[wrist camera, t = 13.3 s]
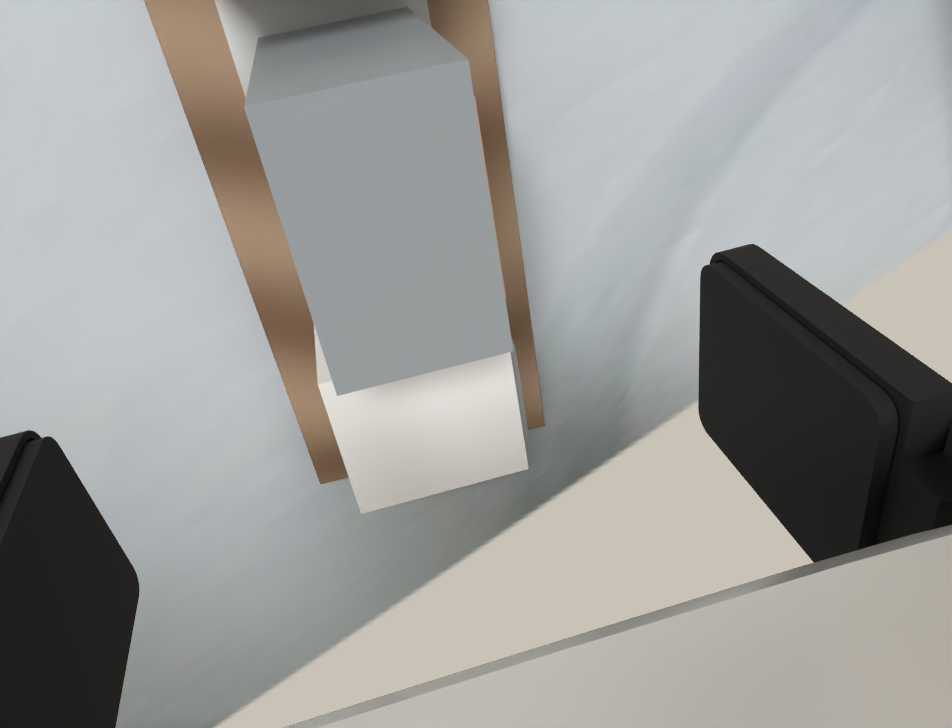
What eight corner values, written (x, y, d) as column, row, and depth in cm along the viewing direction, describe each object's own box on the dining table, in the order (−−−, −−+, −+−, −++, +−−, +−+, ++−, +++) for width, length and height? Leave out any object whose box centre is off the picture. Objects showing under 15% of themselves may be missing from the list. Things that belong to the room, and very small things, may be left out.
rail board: (0, -422, 18) (-30, -455, 16) (412, -480, 19) (424, -517, 17) (319, 466, 33) (321, 496, 31) (537, 409, 34) (549, 435, 32)
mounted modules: (122, -288, 18) (73, -346, 14) (381, -330, 18) (409, -397, 14) (350, 428, 30) (361, 514, 26) (502, 389, 30) (536, 466, 26)
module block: (258, 37, 22) (243, 106, 15) (413, 5, 22) (478, 57, 15) (322, 252, 26) (337, 396, 18) (454, 222, 26) (521, 349, 19)
